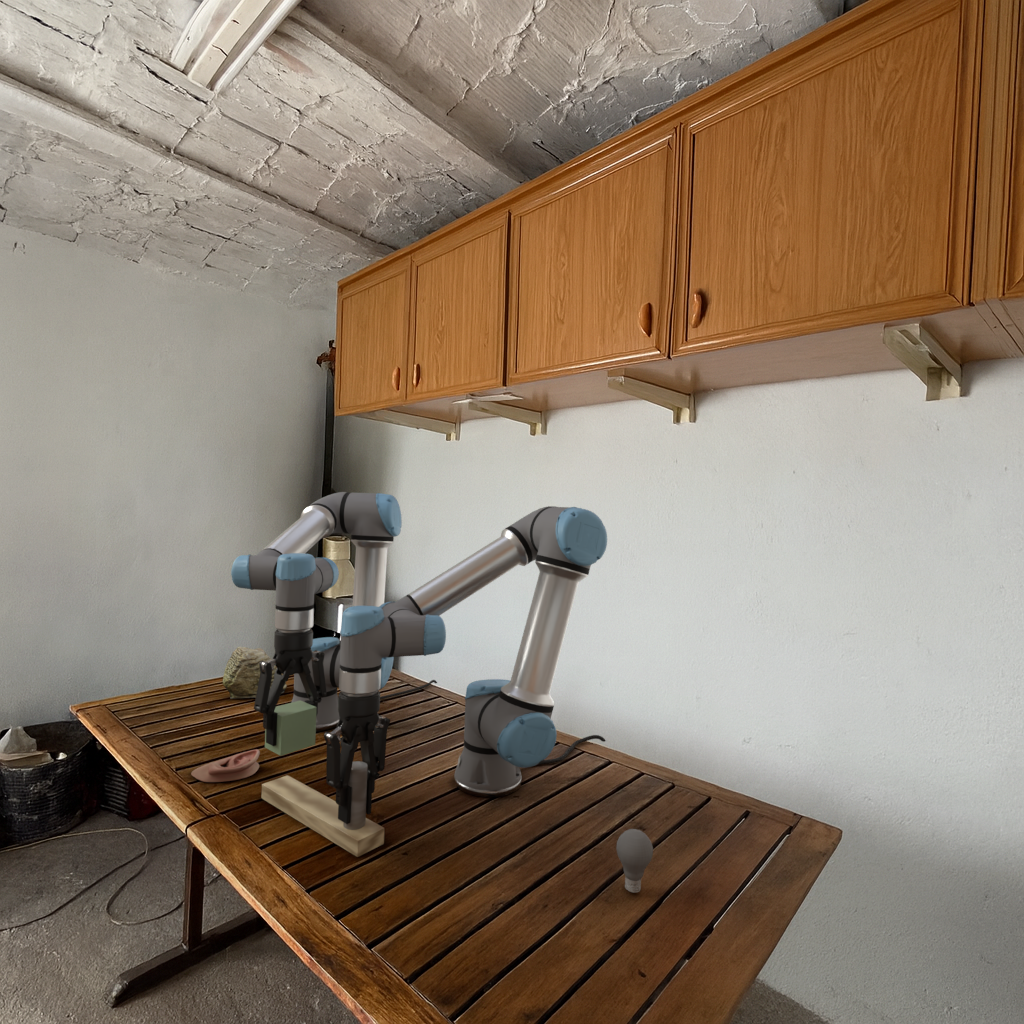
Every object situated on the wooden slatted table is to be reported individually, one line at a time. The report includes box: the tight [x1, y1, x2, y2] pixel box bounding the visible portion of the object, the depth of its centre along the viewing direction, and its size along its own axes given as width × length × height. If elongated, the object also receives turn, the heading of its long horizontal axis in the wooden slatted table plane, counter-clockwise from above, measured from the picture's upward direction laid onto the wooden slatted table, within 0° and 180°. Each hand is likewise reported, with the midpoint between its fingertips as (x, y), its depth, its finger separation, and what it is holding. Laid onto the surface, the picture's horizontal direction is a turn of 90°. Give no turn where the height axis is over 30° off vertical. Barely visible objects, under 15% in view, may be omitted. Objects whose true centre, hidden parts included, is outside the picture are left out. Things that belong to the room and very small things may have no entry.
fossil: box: [222, 646, 288, 699], centre depth 198 cm, size 9×18×15 cm, turn 132°
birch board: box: [261, 760, 385, 858], centre depth 124 cm, size 6×32×14 cm, turn 51°
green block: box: [264, 700, 317, 757], centre depth 131 cm, size 8×6×8 cm
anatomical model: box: [190, 748, 261, 783], centre depth 143 cm, size 13×4×12 cm
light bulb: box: [615, 828, 654, 894], centre depth 106 cm, size 6×6×10 cm
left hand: (290, 737), depth 131 cm, fingers closed on green block, 8 cm apart
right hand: (354, 815), depth 117 cm, fingers closed on birch board, 4 cm apart
